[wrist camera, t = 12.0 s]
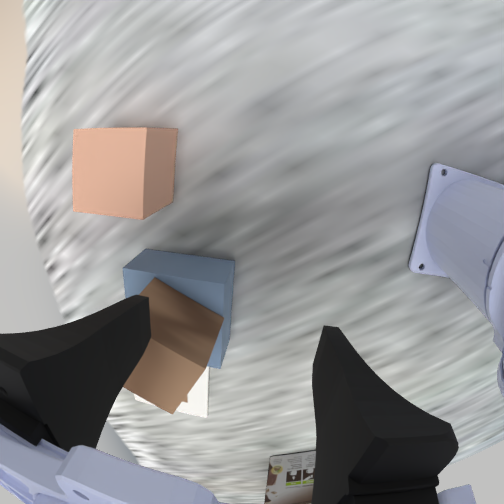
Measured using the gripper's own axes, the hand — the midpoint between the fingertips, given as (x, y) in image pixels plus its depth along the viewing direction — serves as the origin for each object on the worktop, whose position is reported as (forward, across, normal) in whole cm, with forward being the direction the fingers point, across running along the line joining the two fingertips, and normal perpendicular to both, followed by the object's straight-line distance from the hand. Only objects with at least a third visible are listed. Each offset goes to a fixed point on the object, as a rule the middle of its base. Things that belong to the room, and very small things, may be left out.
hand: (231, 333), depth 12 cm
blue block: (+11, +5, +5) cm, 13 cm away
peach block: (+10, +9, -5) cm, 15 cm away
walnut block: (+7, +5, +5) cm, 10 cm away
